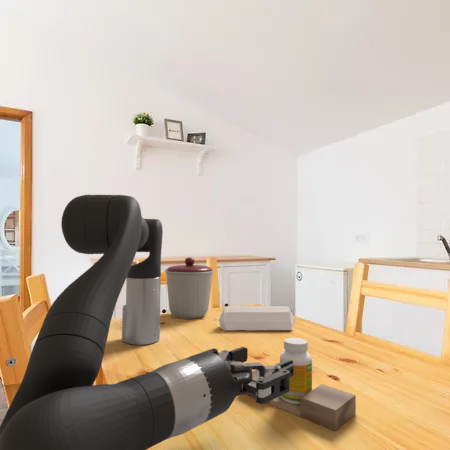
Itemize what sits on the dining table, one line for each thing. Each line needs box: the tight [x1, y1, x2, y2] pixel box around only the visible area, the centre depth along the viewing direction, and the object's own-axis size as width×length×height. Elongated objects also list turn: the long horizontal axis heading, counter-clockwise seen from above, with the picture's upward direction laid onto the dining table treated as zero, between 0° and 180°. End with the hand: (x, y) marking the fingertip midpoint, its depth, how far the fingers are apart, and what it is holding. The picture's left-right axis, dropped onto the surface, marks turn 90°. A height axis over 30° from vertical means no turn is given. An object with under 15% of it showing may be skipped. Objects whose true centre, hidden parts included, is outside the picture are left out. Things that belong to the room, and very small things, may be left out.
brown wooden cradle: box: [246, 370, 357, 432], centre depth 59 cm, size 7×18×3 cm, turn 46°
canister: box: [164, 257, 215, 320], centre depth 125 cm, size 18×18×21 cm
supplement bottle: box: [279, 337, 313, 405], centre depth 59 cm, size 5×5×10 cm
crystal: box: [218, 305, 296, 332], centre depth 109 cm, size 7×7×24 cm
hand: (267, 359), depth 53 cm, fingers open, 8 cm apart
